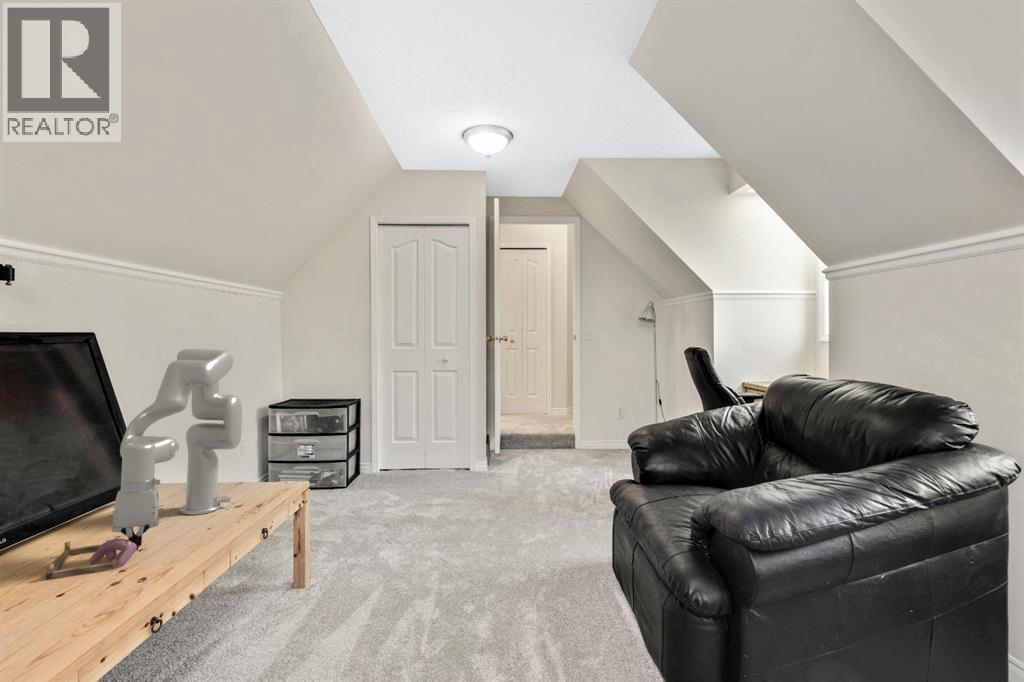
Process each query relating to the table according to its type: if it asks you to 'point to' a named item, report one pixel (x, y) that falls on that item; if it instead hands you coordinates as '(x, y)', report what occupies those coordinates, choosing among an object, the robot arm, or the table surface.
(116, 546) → the video game controller
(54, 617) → the table surface
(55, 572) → the frame
